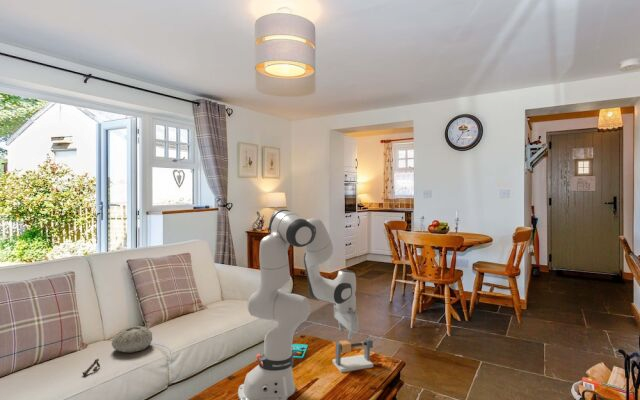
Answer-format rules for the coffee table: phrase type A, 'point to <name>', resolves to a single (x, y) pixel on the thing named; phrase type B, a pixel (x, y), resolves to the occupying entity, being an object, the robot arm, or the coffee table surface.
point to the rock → (132, 339)
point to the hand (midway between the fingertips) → (345, 334)
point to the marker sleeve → (345, 346)
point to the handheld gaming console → (299, 349)
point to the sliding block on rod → (354, 357)
